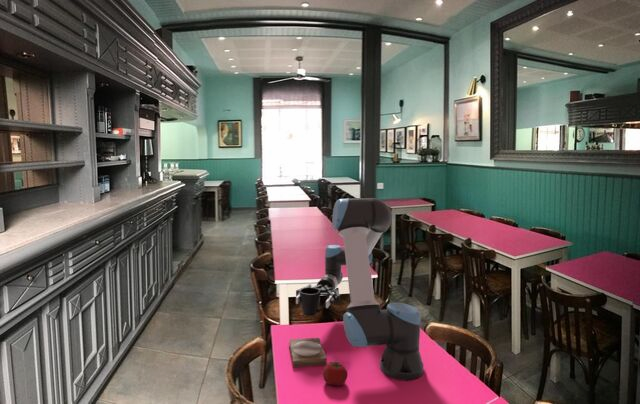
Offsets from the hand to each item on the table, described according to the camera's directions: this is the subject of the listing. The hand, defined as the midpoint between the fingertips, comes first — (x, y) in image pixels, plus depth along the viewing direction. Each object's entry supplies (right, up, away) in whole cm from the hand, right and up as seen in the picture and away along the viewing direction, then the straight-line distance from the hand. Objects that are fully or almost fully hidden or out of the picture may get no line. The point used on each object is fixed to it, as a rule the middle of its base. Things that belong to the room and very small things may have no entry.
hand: (311, 302), depth 154 cm
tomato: (+8, -21, -23) cm, 32 cm away
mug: (+1, -6, +4) cm, 7 cm away
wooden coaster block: (-2, -19, -5) cm, 19 cm away
